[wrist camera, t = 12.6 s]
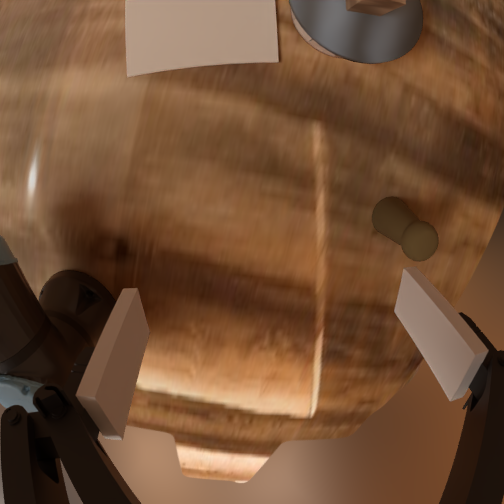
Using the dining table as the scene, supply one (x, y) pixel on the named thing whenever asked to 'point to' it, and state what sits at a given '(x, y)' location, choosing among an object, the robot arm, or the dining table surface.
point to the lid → (361, 27)
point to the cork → (405, 228)
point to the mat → (198, 34)
